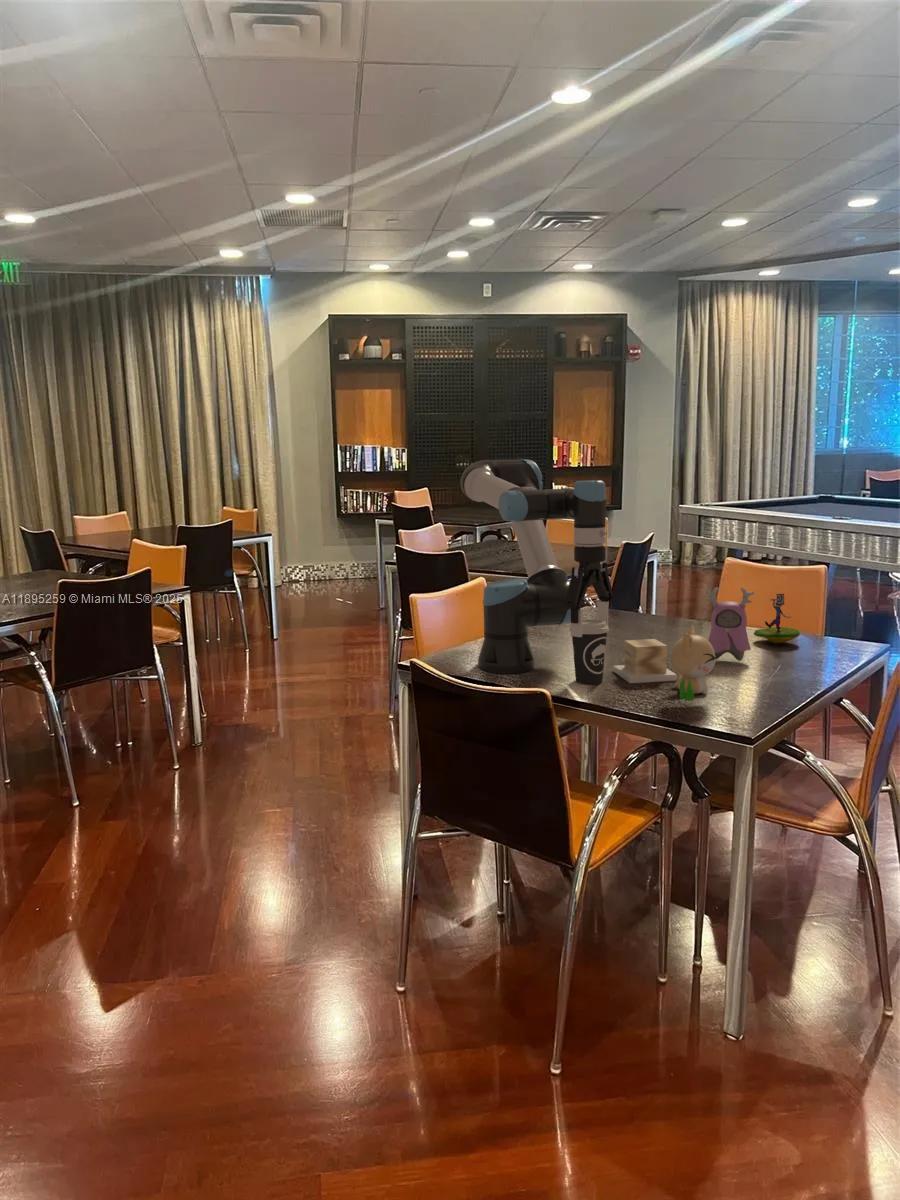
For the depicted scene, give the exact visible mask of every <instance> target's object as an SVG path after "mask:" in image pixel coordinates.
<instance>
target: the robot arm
mask: <svg viewBox="0 0 900 1200" xmlns="http://www.w3.org/2000/svg"><path fill="white" fill-rule="evenodd" d="M466 467H467V468H465V469H464V470H463V473H462V475H461V478H460V483H459V484H460V489H461V491H462V493H463V495H465V496H466V497H467V498H468V499H470V500H472V501H474V502H478V503H483V502H484V503H485V504H488V505H490V506H491V507H494V508H495V509H497V510H498V513H499V515H500V516H501V518H502V520H503V521H506V522H511V525H512V529H513V532H514V536H515V537H516V542H517V544H518V547H519V552H520V554H521V557H522V561H523V563H524V564H523V565H524V567H525V570H526V573H527V578H523V577H522V578H521V577H515V578H503V579H499V580H495V581H493V582H489V583H488V584H487V585H485V587H484V589H483V600H482V605H483V635H484V637H483V642H482V645H481V649H480V652H479V654H478V658H477V668H478V669H479V670H480V671H482V672H487V673H493V674H507V675H508V674H520V673H525V672H529V671H532V670H533V669H535V665H536V664H535V663H536V662H535V656H534V653H533V649H532V647H531V644H530V641H529V634H528V633H529V631H528V630H529V627H544V626H553V625H554V626H556V625H559V626H560V625H563V624H570V627H571V631H570V637H572V636H575V637H582V619H583V609H581V608H582V604H583V601H584V599H585V596H586V593H587V591H588V588H589V587H591V585H592V586H593V589H594V591H595V593H596V596H597V598H598V600H597V601H596V604H597V605H596V619H598V620H603V621H605V622H606V625H607V626H608V627H609V602H612V601H613V600H614V598H613V597H614V593H613V589H612V585H611V581H610V575H609V572H608V562H605V561H606V557H607V556H606V555H607V553H606V548H607V547H606V546H605V545H604V544H606V536H607V531H606V521H607V519H606V518H607V517H606V515H607V512H606V511H607V494H606V483H605V482H604V481H603V480H600V479H599V480H576V481H575V482H574V484H573V488H572V487H562V488H552V489H547V488H546V489H543V484H544V483H543V475H542V472H541V469H540V467H539V466H538V464H537V463H536V462H535V461H533V460H531V459H523V458H515V459H482V460H479V461H475V462H473V463H471V464H470V465H469V466H466ZM570 519H571V520H573V523H574V524H573V544H575V546H574V547H573V559H574V560H573V561H575V562H577V563H578V567H576V566H575V567H572V568H571V577H570V579H569V578H568V575H567V573H566V570H564V569H563V568H560V567H559V565H558V562H557V559H556V556H555V554H554V551H553V547H552V544H551V541H550V538H549V535H548V532H547V530H546V526H545V524H544V521H545V520H546V521H547V520H570Z"/></svg>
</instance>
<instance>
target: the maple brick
mask: <svg viewBox="0 0 900 1200" xmlns="http://www.w3.org/2000/svg"><path fill="white" fill-rule="evenodd" d="M623 662H624V664H623V665H624V667H625V668H626V669H628V670H629V671H631V672H632V673H633V674H635V675H644V674H661V673H667V669H668V645H667V644H665V643H663V642H662V641H659V640H658V639H656V638H650V639H649V638H647V639H629V640H627V639H626V640H624V659H623Z"/></svg>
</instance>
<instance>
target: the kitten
mask: <svg viewBox="0 0 900 1200" xmlns="http://www.w3.org/2000/svg"><path fill="white" fill-rule="evenodd" d="M695 631H696V628H695V626H694V625H690V626H689V629H688V631H687V632H686V633H684V634H683V637H681V638H680V639H678V641H676V643H675V644H674V646H673V648H672V651H671V655H670V656H671V657H670V661H671V666H672V667H673V669H674V673H675V674H676V675H677V687H678V689H679V699H680V700H684V702H686V701H691V702H693V701H694V700H695V695H697V694H702V695H704V696H705V695H707V694H708V690H709V687H708V683H707V681H706V679H705V677H704V676H706V675H708V674H709V673H711V671H712V670H713V669H714V667H715V666H716V665H715V664H716V660H717V659H716V658H715V656H717V654H716V653H715V651H714V649H713V647H712V645H711V643H710V642H709V641H708V638H705V637H704V636H702V635H699V634H698V635H697V634H696V633H695Z"/></svg>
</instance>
